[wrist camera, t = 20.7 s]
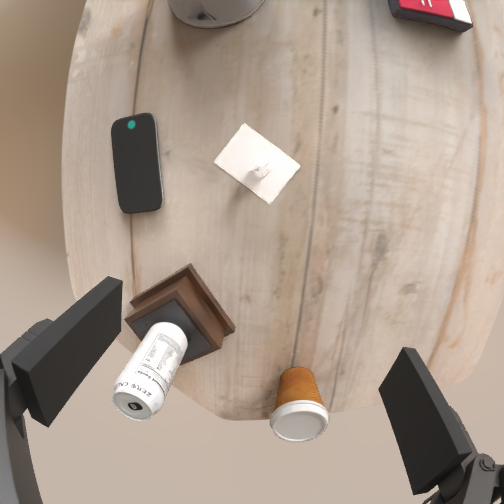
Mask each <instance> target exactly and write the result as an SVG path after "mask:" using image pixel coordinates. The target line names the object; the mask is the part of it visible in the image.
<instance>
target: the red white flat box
mask: <svg viewBox="0 0 504 504" xmlns="http://www.w3.org/2000/svg"><path fill="white" fill-rule="evenodd" d="M388 2H389V5H390V9H391V12H392V15H393V16H394V17H396V18H404V19H410V20H416V21H422V22H427V23H432V24H437V25H441V26H446V27H447V28H449V29H452V30H456V31H460V32H465V31H467V30H469V29H470V28H472V27H473V23H472V20H471V17H470V15H469V12H468V9H467V6H466V4H465V1H464V0H388Z"/></svg>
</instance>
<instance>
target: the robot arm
mask: <svg viewBox="0 0 504 504" xmlns="http://www.w3.org/2000/svg"><path fill="white" fill-rule="evenodd" d="M167 1H168V4H169V7H170V9H171V10H172V12H173V13H174V14H175V16H176V17H177V18H178V19H179V20H181V21H182V22H184V23H186V24H188V25H191V26H194V27H199V28H220V27H225V26H229V25H233V24H235V23H238V22H240V21H242V20H244V19H246V18H248V17H249V16H251V15H252V14H253V13H254V12H255V11H257V10H258V8H259V7H260V6H261V5H262V3H263V1H264V0H167ZM122 285H123V281H122V280H118V279H115V278H112V277H109V276H108V277H106V278H105V279H104V280H103V281H101V282H100V283H99V284H98V285H97V286H95V287H94V288H93V289H92V290H90V291H89V292H88V293H87V294H86V295H84V296H83V297H82V298H81V299H80V300H78V301H77V302H76V303H75V304H74V305H72V306H71V307H70V308H69V309H68V310H67V311H65V313H63V314H62V315H61V316H60V317H58V318H57V319H56V320H55V321H52V320H50V319H45V320H42V321H40V322H38V323H36V324H35V325H33V326H32V327H31V328H30V329H29V330H28V332H27V331H26V332H25V333H24V334H23V335H22V336H21V337H20V338H18V339H17V340H16V341H15V342H14V343H12V344H11V345H10V346H9V347H8V348H7V349H6V350H5V351H3V352H2V353H1V354H0V504H43V502H42V499H41V496H40V492H39V489H38V486H37V481H36V478H35V473H34V469H33V465H32V460H31V456H30V451H29V445H28V439H27V433H26V427H25V419H24V416H23V413H24V411H25V410H26V409H27V408H28V410H29V412H30V414H31V417H32V418H33V419H35V420H36V421H38V422H40V423H41V424H43V425H44V426H46V427H49V426H50V425H51V423H52V422H53V420H54V419H55V418H56V416H57V415H58V413H59V412H60V411H61V409H62V408H63V406H64V405H65V403H66V402H67V401H68V400H69V398H70V397H71V395H72V394H73V393H74V391H75V390H76V389H77V387H78V386H79V385H80V383H81V382H82V381H83V379H84V378H85V377H86V376H87V374H88V373H89V372H90V370H91V369H92V367H93V366H94V365H95V364H96V362H97V361H98V360H99V359H100V357H101V356H102V354H103V353H104V352H105V351H106V350H107V348H108V347H109V346H110V345H111V343H112V342H113V341H114V340H115V338H116V337H117V336H118V335H119V333H120V332H121V310H122ZM379 392H380V395H381V397H382V400H383V403H384V406H385V408H386V411H387V414H388V417H389V420H390V422H391V425H392V428H393V431H394V434H395V437H396V440H397V443H398V446H399V449H400V452H401V455H402V459H403V462H404V465H405V468H406V472H407V475H408V478H409V481H410V485H411V489H412V492H413V495H417V494H422V493H427V492H429V491H430V490H431V489H433V488H434V487H435V486H436V485H437V484H438V487H439V490H438V491H437V492H435V493H434V494H433V495H432V496H430V497H429V498H428V499H426V500H425V501H424V503H423V504H426V503H428V502H429V501H430V500H431V503H430V504H493V503H494V502H495V501H497V500H498V499H499V498H500V497H501V503H500V504H504V465H497V464H495V461H494V460H493V459H492V458H491V457H490V456H489V455H486V454H478V452H477V450H476V448H475V446H474V444H473V442H472V440H471V438H470V436H469V434H468V432H467V431H465V429H466V428H465V427H464V425H463V424H462V421H461V419H460V417H459V416H458V414H457V413H456V412H455V411H454V410H453V408H452V407H451V406H449V405H448V403H447V402H446V400H445V398H444V396H443V394H442V393H441V391H440V389H439V387H438V386H437V384H436V382H435V380H434V379H433V377H432V375H431V374H430V372H429V370H428V369H427V367H426V365H425V364H424V362H423V360H422V359H421V357H420V356H419V354H418V352H417V351H416V349H414V348H407V347H403V348H402V350H401V352H400V353H399V355H398V357H397V359H396V361H395V362H394V364H393V366H392V367H391V369H390V371H389V373H388V374H387V376H386V378H385V379H384V381H383V382H382V384H381V386H380V387H379Z"/></svg>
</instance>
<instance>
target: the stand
mask: <svg viewBox="0 0 504 504" xmlns="http://www.w3.org/2000/svg"><path fill="white" fill-rule="evenodd" d="M130 303H131V304H132V306H133V307H134V309H133V310H132V311H131V312H130V313H129V314H128V316H127V317H126V318H125V319H124V320H125V321H126V322H127V324H128V325H129V326H130V328H131V329H132V330H133V331H134V333H135V334H136V335H137V336H138V338H139V339H140V340H141V341H142V340H143V339H144V337H145V336H146V334H147V333H148V331H149V330H150V328H151V327H152V326H153V325H154V324H157V323H161V322H168V323H172V324H175V325H177V326H178V327H179V328H180V329H181V330H182V331H183V332H184V334H185V336H186V338H187V344H188V345H187V349H186V351H185V354H184V356H183V358H182V360H181V363H180V365H183V364H185V363H188V362H190V361H193V360H195V359H197V358H200V357H202V356H204V355H207V354H209V353H212V352H214V351H216V350H218V349H221V345H222V342H223V338H224V337H225V336H227V335H229V334H231V333H234V331H235V326H234V324H233V323H232V322H231V320H230V319H229V318H228V316H227V315H226V313H225V312H224V311H223V309H222V308H221V306H220V305H219V304H218V302H217V301H216V299H215V298H214V297H213V295H212V294H211V292H210V291H209V289H208V288H207V287H206V285H205V284H204V282H203V281H202V279H201V278H200V276H199V275H198V274H197V272H196V271H195V269H194V268H193V266H192V265H191V264H189V265H187V266H185V267H184V268H182V269H180V270H179V271H177V272H175V273H174V274H172V275H170V276H169V277H167V278H165V279H164V280H162V281H160V282H159V283H157V284H156V285H154V286H152V287H151V288H149V289H147V290H146V291H144V292H142V293H141V294H139V295H137V296H136V297H134V298H133V299H132V300H131V301H130ZM180 365H179V366H180Z"/></svg>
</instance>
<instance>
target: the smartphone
mask: <svg viewBox="0 0 504 504" xmlns="http://www.w3.org/2000/svg"><path fill="white" fill-rule="evenodd" d="M111 138H112V150H113V160H114V170H115V178H116V186H117V194H118V201H119V206H120V208H121V210H122V211H123V212H124V213H128V214H130V213H139V212H148V211H154V210H157V209H159V208H161V207H162V205H163V201H164V196H163V187H162V179H161V170H160V160H159V150H158V139H157V126H156V120H155V117H154V116H153V115H152V114H150V113H141V114H137V115H133V116H129V117H125V118H121V119H119V120H116V121H115V122H114V123H113V125H112V129H111Z"/></svg>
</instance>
